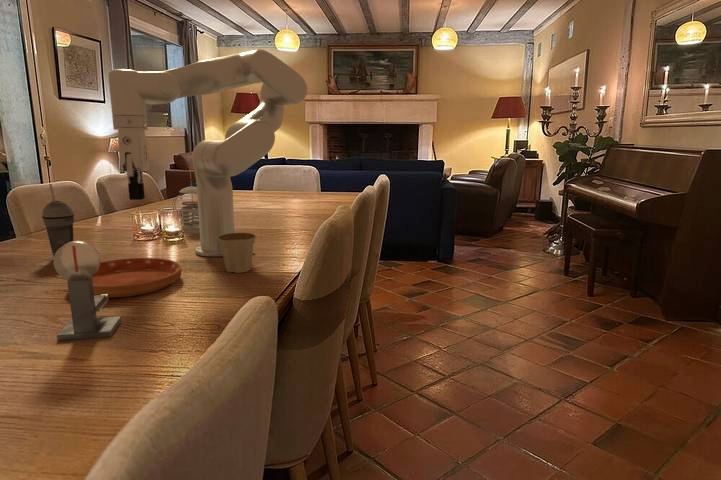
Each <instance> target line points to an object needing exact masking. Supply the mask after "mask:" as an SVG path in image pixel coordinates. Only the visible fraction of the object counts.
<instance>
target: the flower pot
mask: <svg viewBox="0 0 721 480" xmlns="http://www.w3.org/2000/svg"><path fill="white" fill-rule="evenodd" d="M256 238H257V235H256V234H255V233H251V232H235V233H228V234H223V235H220V236H218V237H217V239H218V240H219V244H220V245H221V248H222V253H223V256H222V257H223V262H224V266H225V271H226V272H227V273H235V274H241V273H246V272H249V271H250V270H252V268H253V267H252V265H253V257H254V256H253V254H254V245H255V243H256Z"/></svg>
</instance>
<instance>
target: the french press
mask: <svg viewBox="0 0 721 480" xmlns="http://www.w3.org/2000/svg"><path fill="white" fill-rule="evenodd" d="M186 162H189V164H191V162H192V157H189V158H186ZM189 175H190V178H192V170H191V167H189ZM179 193H180V194H179V195H177V196H175V197H174V198H173V200H172V203H171V204H172V209H173V211H174V210H177V208H176V202H177V201H176V200H177V199H178V198H179V199H180V200H182V199H183V195H182V194H185V195H186V194H189V195H194V194H197V186H193V184H192V181H190V186H187V187H184V188H182V189H181V190H179ZM181 205H183V206H182V207H180V213H181V212H182V221H181V223H182V222H183V231H184V233H183V234H197V233H199V234H200V226H199V211H198V200H196V201H194V199H193V196H191V201H190V200H189V201H182V202H181Z"/></svg>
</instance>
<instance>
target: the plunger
mask: <svg viewBox="0 0 721 480" xmlns="http://www.w3.org/2000/svg"><path fill="white" fill-rule="evenodd" d="M101 295H106V301H105V302H104V304H103V305H102V306H101V307H100V308H99V309H98V311H97V312H100V311H101V310H102V309H103V307H104V306H105V305H106V304H107V303H108V301H109V298H108V294H101Z"/></svg>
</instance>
